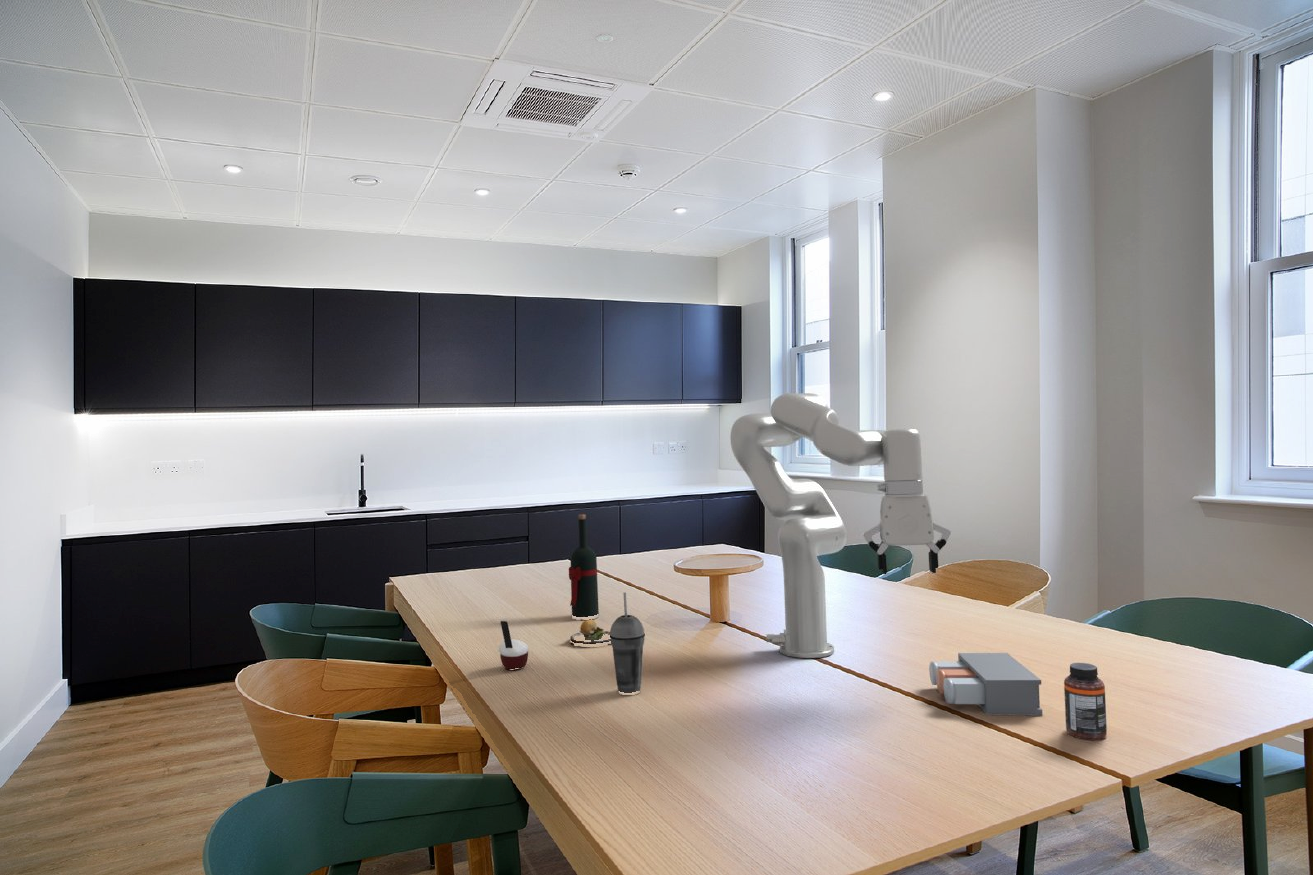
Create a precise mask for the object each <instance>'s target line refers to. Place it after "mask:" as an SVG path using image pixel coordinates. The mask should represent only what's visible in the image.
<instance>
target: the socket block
mask: <svg viewBox="0 0 1313 875" xmlns="http://www.w3.org/2000/svg"><path fill="white" fill-rule="evenodd" d="M957 657H958V658H957V660H958V661H963V662H964V663H965V664H966V665H967V669H971V670H972V671H973V672H974V673H975V678H980V679H981V680H982V681H983V682H984V694H985V704H977V706H979V708H980V710H982V711H983V712H984V713H985V714H986V716H1043V708H1041V705H1040V685H1042V679H1041V678H1039V676H1037V675H1036V674H1034V673H1033V672H1032V671H1030V670H1029V669H1028V668H1027V667H1025V666H1024V665H1023V664H1022V663H1021V662H1019V661H1018V660H1016V659H1015V658H1014V657H1013V656H1012V655H1010V654H1009V653H1008V652H958V653H957Z"/></svg>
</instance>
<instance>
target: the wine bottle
mask: <svg viewBox="0 0 1313 875" xmlns="http://www.w3.org/2000/svg"><path fill="white" fill-rule="evenodd" d="M586 516H587V514H584V513H583V514H578V515H577V517H578V520H577V521H578V547H577V548H575V549H574V550H573V551H572V552H571V555H570V557H569V558H570V560H569V561H570V566H569V567H568V578H569V580H570V591H571V592H570V593H571V595H570V597H571V599H570V605H569V607H571V616H572V615H573V616H576V617H588V616H594V615H597V614H599V615H600V612H599V588H598V586H599V585H598V563H597V555H596V552H595V551H594V550H593V549H592V548H591V547H588V540H587V538H588V536H587V517H586Z"/></svg>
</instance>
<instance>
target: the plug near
mask: <svg viewBox="0 0 1313 875" xmlns="http://www.w3.org/2000/svg"><path fill="white" fill-rule="evenodd" d="M943 686H944V694H943V695H944V699H945V702H946V704H948V705H949V704H952V705H953V704H955V705H978V704H985V694H984V682H983V681H982V680H981V679H980V678H945V679H944V685H943Z"/></svg>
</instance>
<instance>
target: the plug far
mask: <svg viewBox="0 0 1313 875" xmlns="http://www.w3.org/2000/svg"><path fill="white" fill-rule="evenodd" d="M952 669H967V665H966V664H965V663H964V662H963V661H949V660H948V661H930V662H929V668H928V670H929V679H930V683H931V685H933V686H937V682H936V672H937V670H952Z"/></svg>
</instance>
